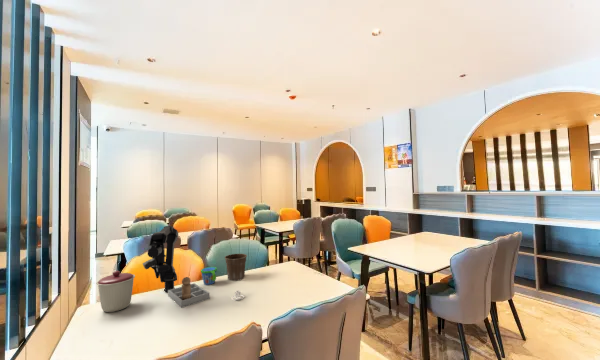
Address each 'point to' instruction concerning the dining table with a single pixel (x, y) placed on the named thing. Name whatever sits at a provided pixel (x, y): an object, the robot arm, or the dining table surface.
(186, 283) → the skittle
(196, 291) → the tray
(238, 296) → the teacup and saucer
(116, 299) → the canister
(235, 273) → the plant pot
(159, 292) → the dining table surface
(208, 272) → the snack cup
